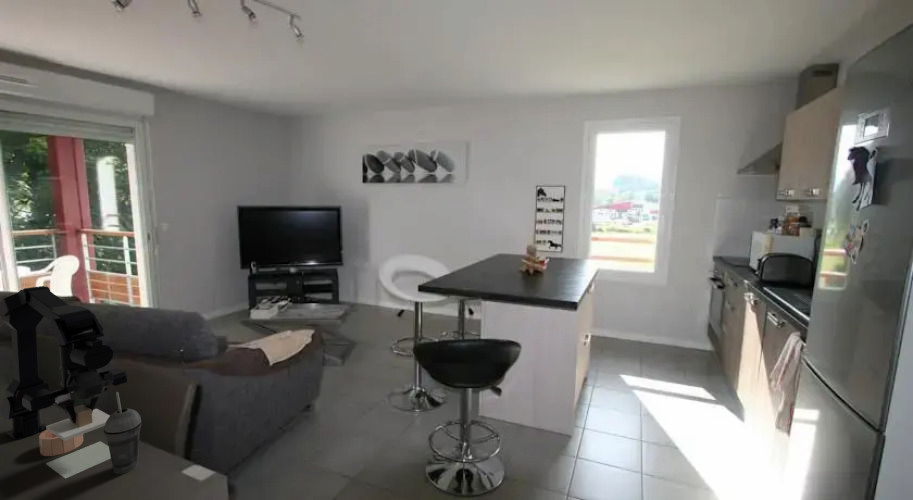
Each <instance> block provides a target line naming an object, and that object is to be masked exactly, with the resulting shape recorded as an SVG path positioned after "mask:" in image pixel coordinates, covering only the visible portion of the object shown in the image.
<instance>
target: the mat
mask: <svg viewBox="0 0 913 500" xmlns="http://www.w3.org/2000/svg"><path fill="white" fill-rule="evenodd" d="M108 460H111V456H110V451H109V446H108V445H107V443H106V444H105V443H104V442H102V441H101V440H100V441H98V442H95V443H92V444H90V445H88V446H86V447H83V448H81V449H78V450H75V451H73V452H71V453H69V454H68V453H67V454H66V455H63V456H60V457H58V458H56V459H53V460H51V461H48V462H46V463H45V465H47V466H48V467H49V468H51V469H52V470H53V471H54V472H55V473H57V474H59V475H60V476H61V477H62V478H64V480H65V479H68V478H70V477H72V476H75V475H77V474H78V473H81V472H84V471H86V470H88V469H90V468H92V467H95V466H97V465H99V464H101V463H104V462H106V461H108Z"/></svg>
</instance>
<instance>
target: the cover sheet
mask: <svg viewBox="0 0 913 500" xmlns="http://www.w3.org/2000/svg"><path fill="white" fill-rule="evenodd" d="M74 410H75V415H76V423H72V422H71V420H70V419H69V417H67V418H65V419H62V420H60V421H57V422H54V423H51V424H49V425H45V426H46V430H49V431H50V432H52V433H53V434H55V435H56V436H58V437H59V438H61V439H62V440H64V441H66V440H69V439H71V438H74V437H76V436H79V435H82V434H83V435H84V434H87V433H89V432H92V431H95V430H97V429H99V428H104V427H105V423H106V421H107V419H108V418H109V417H110V416H111V414H108V413H107V412H104V411H102V410H101V409H99V408H94V409H93V412H92V410H91V409H90V408H88V407H86V406H85V404H80V405H77V406H74Z"/></svg>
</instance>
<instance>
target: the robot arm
mask: <svg viewBox="0 0 913 500" xmlns="http://www.w3.org/2000/svg"><path fill="white" fill-rule="evenodd" d="M0 318H1V321H2V322H3V323H4V324H5V325H7V326H8V327H9V328H10V332H11V334H10V335H11V349H12V352H11V353H12V363H13V364H12V365H13V367H12V368H13V380H12V381H11V382H10V384H9V385H8V387H6V388H5V398H3V400H2V402H1V404H0V416H1V417H2V418H4V419H7V420H10V423H11V429H10V430H8V431H7V432H6V434H7V435H8V436H10V437H11V438H13V440H17V441H18V440H19V439H20V440H21V439H23V438H25V437H29V436H31V435H33V434H37V433H39V432H44V431H45V430H47V429H46V426H47V425H46V424H45V425H44V424H43V422H42V417H41V416H42V415H41V411H42V410H43V409H44V410H45V409H47V408H49V407H52V406H53V405H54V406H56V407H60V408H61V409H62V410H63V411H64V413H65V414H66V415H67V418H69V419H70V420H71V422H72V423H76V415H75V410H74V407H75V406H74V404H75V399H73V398H71V395H72V394H75V395H76V396H77V398H78V399H80V400H84V406H86V407H88V408H90V409H91V410H92V412H93V410H94V409H95V406H96V404H97V401H98V399H99V398H100V396H102V395H103V393H106V392H107V391H108V388H107V387H108V386H111V385H112V386H115V387H116V386H119V385H122V384H125V383H127V382H129V374H128V372H126V371H124V370H122V369H120V368H117V367H115V368H112V369H108V370H104V371H99V372H98V371H97V370H98V369H102V368H104V367H106V366H107V365H108V364H109V363H111V362H112V361H111V360H112V359H113V357H114V351H113V350H112V348H111V347H110V346H108V345H106V344H103V339H100V338H101V337H104V327H103V326H102V324H101V323H100V321H99V320H98V318H97V316H96V315H95V313H94V312H92V311H91V310H90V309H89V308H86V307H85V306H77V305H70V304H69V303H67V301H64V300H63V299H61V298H60V297H59V296H58V295H56V294H54V293H53V292H52V291H51V289H50V287H49V286H44V285H39V286H33V287H31V286H30V287H26V288H25V287H24V288H22V289H20V290H19V291H18V292H17V293H16V292H15V293H13V294H11V295H9V296H7V297H5V298H2V300H1V301H0ZM44 318H45V319H47V320H48V321H50V322H49V330H50V332H51V333H52V335H53V336H54V337H55V340H56V343H58V347H59V358H60V359H59V361H60V362H59V363H60V365H58V370H59V371H60V375H61V381H59V382H60V386H61V387H62V388H59V389H56V390H53V391H52V390H51V389H50V387H49V384H48V382H46V381H45V380H43V379H42V378H41V377H40V373H39V370H40V369H39V352H38V351H39V350H38V349H39V348H38V334H37V328H38V326H39V324H40V323H41V322H42V321H43V319H44Z"/></svg>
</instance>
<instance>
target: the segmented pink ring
mask: <svg viewBox="0 0 913 500" xmlns="http://www.w3.org/2000/svg"><path fill="white" fill-rule="evenodd" d="M38 442H39V453H40V455H41V456H43V457H54V456H58V455H62V454H63V455H64V454H65V453H68V452H71V451H73V450H75V449H77V448H78V447H80V446H81V445H82V444H83V443H84V434H82V435H79V436H76V437H74V438H71V439H69V440H66V441H64V440H62V439H61V438H59V437H58V436H56V435H55V434H53V433H52V432H50V431H49V430H47V429H46V430H43V431H41V433H40V434H39V436H38Z"/></svg>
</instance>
